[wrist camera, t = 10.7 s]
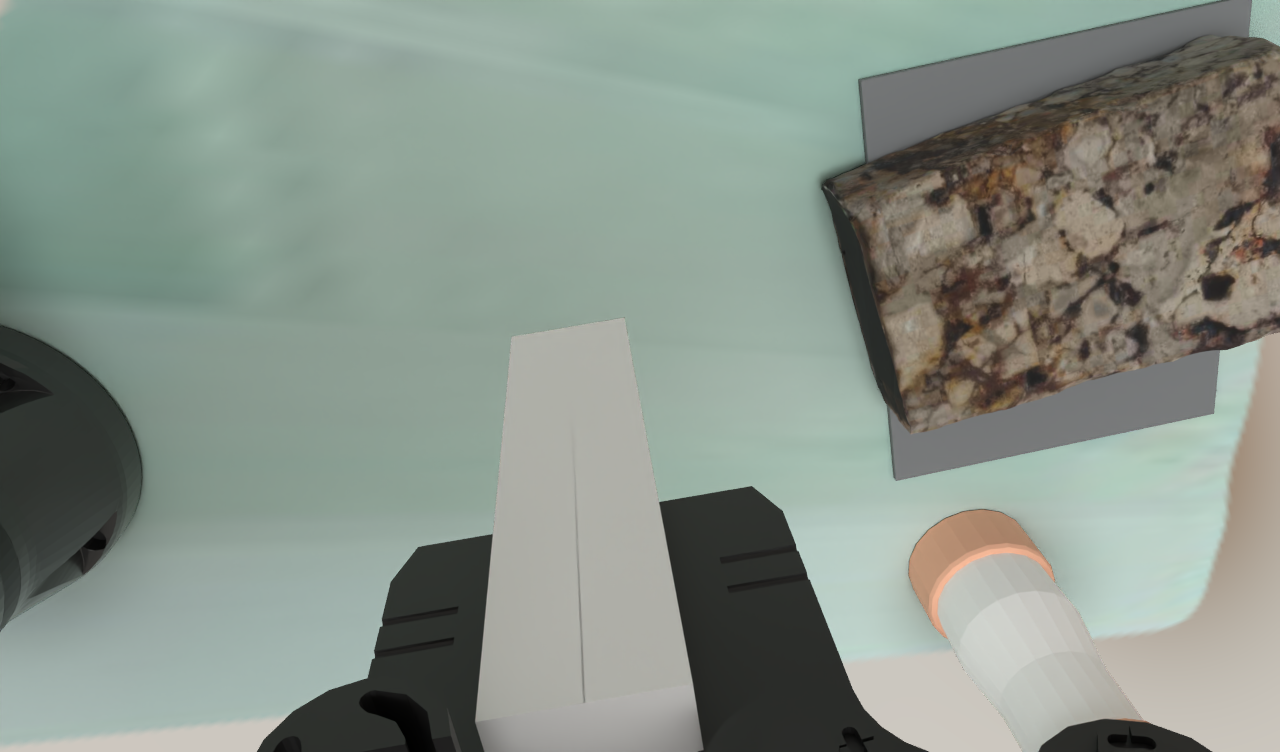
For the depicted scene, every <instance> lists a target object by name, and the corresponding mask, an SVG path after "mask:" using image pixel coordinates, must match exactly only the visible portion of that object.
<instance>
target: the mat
mask: <svg viewBox="0 0 1280 752" xmlns="http://www.w3.org/2000/svg"><path fill="white" fill-rule="evenodd" d="M1251 5H1252V0H1221V1H1217V2H1212V3H1208V4H1203V5H1198V6H1194V7H1189V8H1185V9H1180V10H1175V11H1171V12H1166V13H1162V14H1157V15H1153V16H1148V17H1143V18H1139V19H1134V20H1130V21H1125V22H1120V23H1116V24H1111V25H1107V26H1102V27H1097V28H1093V29H1088V30H1084V31H1079V32H1075V33H1070V34H1065V35H1061V36H1056V37H1052V38H1047V39H1042V40H1038V41H1033V42H1029V43H1024V44H1019V45H1015V46H1010V47H1006V48H1001V49H996V50H992V51H987V52H983V53H978V54H974V55H969V56H964V57H960V58H955V59H951V60H946V61H941V62H937V63H932V64H928V65H923V66H918V67H914V68H909V69H905V70H900V71H896V72H891V73H886V74H882V75H877V76H873V77H868V78H863V79H859V90H860V102H861V113H862V124H863V135H864V147H865V158H866V164H868V163H870V162H873V161H875V160H877V159H880V158H882V157H883V156H885V155H888V154H891V153H894V152H898V151H903V150H905V149H907V148H910V147H912V146H914V145H917V144H919V143H921V142H924V141H926V140H929V139H931V138H934V137H936V136H938V135H939V134H941V133H944V132H947V131H950V130H954V129H957V128H959V127H962V126H965V125H968V124H970V123H974V122H976V121H979V120H981V119H984V118H988V117H991V116H995V115H998V114H1000V113H1002V112H1004V111H1006V110H1009V109H1011V108H1013V107H1016V106H1019V105H1024V104H1028V103H1033V102H1036V101H1039V100H1042V99H1044V98H1046V97H1049V96H1050V95H1052V94H1053V93H1054V92H1056V91H1059V90H1061V89H1064V88H1068V87H1071V86H1076V85H1079V84H1082V83H1085V82H1088V81H1091V80H1094V79H1097V78H1099V77H1102V76H1105V75H1106V74H1108V73H1110V72H1112V71H1113V70H1115V69H1118V68H1122V67H1126V66H1130V65H1134V64H1137V63H1141V62H1145V61H1149V60H1152V59H1156V58H1159V57H1162V56H1165V55H1169V54H1171V53H1172V52H1174V51H1176V50H1178V49H1180V48H1182V47H1183V46H1185V45H1186V44H1187V43H1189V42H1191V41H1193V40H1195V39H1197V38H1199V37H1204V36H1209V35H1214V36H1218V37H1226V36H1239V37H1249V27H1250V16H1251ZM1219 353H1220V350H1213V351H1206V352H1199V353H1195V354H1191V355H1187V356H1185V357H1182V358H1180V359H1178V360H1175V361H1173V362H1165V363H1160V364H1154V365H1152V366H1149V367H1146V368H1142V369H1137V370H1133V371H1127V372H1121V373H1116V374H1112V375H1109V376H1106V377H1103V378H1099V379H1096V380H1089V381H1085V382H1083V383H1080V384H1078V385H1076V386H1073V387H1070V388H1067V389H1065V390H1063V391H1061V392H1059V393H1057V394H1055V395H1052V396H1048V397H1045V398H1042V399H1039V400H1035V401H1032V402H1028V403H1024V404H1020V405H1018V406H1015V407H1013V408H1010V409H1007V410H1000V411H996V412H993V413H988V414H983V415H979V416H976V417H972V418H968V419H965V420H962V421H959V422H956V423H952V424H948V425H945V426H943V427H941V428H939V429H935V430H931V431H927V432H921V433H914V434H910V433H909V432H908V430H907V429H905V428H904V426H903V425H902V424H901V423H900V421H899V420H898V418H897V416H896V415H895V414H894V413H893V411H892V410H891V409H890V407H889V406H888V405H887V407H888V418H889V429H890V441H891V452H892V463H893V475H894V478H895V480H896V481H898V480H902V479H907V478H912V477H916V476H921V475H926V474H931V473H935V472H940V471H945V470H950V469H954V468H959V467H964V466H968V465H973V464H978V463H983V462H987V461H992V460H997V459H1001V458H1006V457H1011V456H1016V455H1020V454H1025V453H1030V452H1035V451H1039V450H1044V449H1049V448H1053V447H1058V446H1063V445H1068V444H1072V443H1077V442H1082V441H1087V440H1091V439H1096V438H1101V437H1105V436H1110V435H1115V434H1120V433H1124V432H1129V431H1134V430H1139V429H1143V428H1148V427H1153V426H1157V425H1162V424H1167V423H1172V422H1176V421H1181V420H1186V419H1190V418H1195V417H1200V416H1205V415H1209V414H1214V407H1215V396H1216V385H1217V375H1218V364H1219Z"/></svg>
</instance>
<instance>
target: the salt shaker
mask: <svg viewBox="0 0 1280 752" xmlns="http://www.w3.org/2000/svg"><path fill="white" fill-rule="evenodd" d="M909 578H910V580H911V583H912V586H913V589H914V591H915V593H916V595H917V596H918V598H919V600H920V602H921V604H922V606H923V608H924V609H925V611H926V613H927V615H928V617H929V619H930V621H931V623H932V624H933V626H934V627H935V628H936V629H937V630H938V631H939V632H940V633H941V634H942V635H943V637H945V638H947V639H948V640H949V642H950V644H951V646H952V648H953V650H954V652H955V653H956V656H957V658H958V660H959V662H960V664H961V666H962V668H963V670H964V671H965V672H966V673H967V675H968V676H969V677H970V678H971V679H972V681H973V682H974V683H975V684H976V686H977V687H978V688H979V689H980V690H981V692H982V693H983V694H984V695H985V697H986V698H987V699H988V700H989V701H990V703H991V704H992V705H993V706H994V707H995V709H996V710H997V711H998V712H999V714H1000V715H1001V716H1002V717H1003V719H1004V720H1005V722H1006V724H1007V725H1008V727H1009V729H1010V731H1011V732H1012V734H1013V736H1014V738H1015V739H1016V741H1017V743H1018V745H1019V746H1020V748H1021V750H1022V752H1038V751H1039V749H1040V747H1041V745H1042V744H1044V743H1045V742H1046V741H1048V740H1049V739H1051V738H1052V737H1054V736H1055V735H1056V734H1058V733H1059V732H1061V731H1062V730H1063V729H1065V728H1066V727H1068V726H1072V725H1077V724H1081V723H1086V722H1091V721H1095V720H1100V719H1115V720H1126V721H1137V722H1147V721H1144V720H1143V719H1142V717H1141V716H1140V714H1139V713H1138V712H1137V710H1136V709H1135V707H1134V706H1133V705H1132V703H1131V702H1130V701H1129V699H1128V698H1127V696H1126V695H1125V694H1124V692H1123V691H1122V689H1121V688H1120V687H1119V685H1118V684H1117V683H1116V681H1115V680H1114V678H1113V677H1112V676H1111V674H1110V673H1109V672H1108V670H1107V668H1106V666H1105V664H1104V662H1103V660H1102V658H1101V656H1100V654H1099V652H1098V650H1097V648H1096V646H1095V644H1094V642H1093V640H1092V638H1091V636H1090V634H1089V632H1088V630H1087V628H1086V626H1085V624H1084V622H1083V619H1082V617H1081V615H1080V613H1079V612H1078V611H1077V609H1076V608H1075V607H1074V606H1073V604H1072V603H1071V602H1070V601H1069V599H1068V598H1067V597H1066V596H1065V595H1064V593H1063V592H1062V591H1061V590H1060V588H1059V587H1058V586H1057V585H1056V583H1055V579H1054V575H1053V571H1052V568H1051V565H1050V564H1049V563H1048V561H1047V560H1046V559H1045V557H1044V556H1043V555H1042V554H1041V552H1040V551H1039V550H1038V548H1037V547H1036V546H1035V544H1034V543H1033V542H1032V541H1031V539H1030V538H1029V537H1028V535H1027V534H1026V533H1025V531H1024V530H1023V529H1022V528H1021V527H1020V525H1019V524H1018V523H1017V522H1016V521H1015V520H1014V519H1012V518H1010V517H1008V516H1007V515H1005V514H1003V513H1001V512H996V511H990V510H984V509H982V510H973V511H965V512H961V513H959V514H956V515H953V516H951V517H948V518H945V519H944V520H942V521H941V522H939V523H938V524H937V525H935V526H934V527H932V528H931V529H929V530H928V531H927V532H926V534H925V535H924V536H923V537H922V538H921V539H920V541H919V542H918V543H917V544H916V546H915V549H914V551H913V553H912V555H911V558H910V561H909ZM1147 723H1149V722H1147ZM1150 724H1151V723H1150Z"/></svg>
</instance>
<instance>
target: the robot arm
mask: <svg viewBox="0 0 1280 752" xmlns="http://www.w3.org/2000/svg"><path fill="white" fill-rule="evenodd" d="M141 481H142V480H141V463H140V457H139V452H138V449H137V445H136V442H135V440H134V437H133V434H132V432H131V430H130V428H129V426H128V424H127V422H126V420H125V418H124V416H123V415H122V413H121V412H120V410H119V409H118V407H117V406H116V404H115V403H114V402H113V400H112V399H111V398H110V396H109V395H108V394H107V393H106V392H105V391H104V389H103V388H102V387H101V386H100V385H99V384H98V383H97V382H96V381H95V380H94V379H93V378H92V377H91V376H89V375H88V374H87V373H86V372H85V371H84V370H83V369H81V368H80V367H79V366H78V365H76V364H75V363H74V362H72V361H71V360H69V359H68V358H67V357H65V356H64V355H62V354H61V353H59V352H57V351H56V350H54V349H52V348H51V347H49V346H47V345H45V344H43V343H41V342H39V341H37V340H35V339H33V338H31V337H29V336H26V335H24V334H21V333H19V332H17V331H14V330H11V329H8V328H5V327H2V326H0V631H1V630H2V629H3V628H4V626H5V625H6V624H7V623H8V622H9V621H10V620H12V619H14V618H15V617H17V616H19V615H20V614H22V613H24V612H25V611H27V610H29V609H30V608H32V607H34V606H35V605H37V604H39V603H40V602H42V601H44V600H45V599H47V598H48V597H50V596H52V595H53V594H55V593H57V592H58V591H60V590H62V589H63V588H65V587H67V586H68V585H70V584H72V583H73V582H75V581H77V580H78V579H80V578H81V577H83V576H84V575H85V574H87V573H88V572H89V571H90V570H91V569H93V568H94V567H95V566H96V565H97V564H98V563H99V562H100V561H101V560H102V559H103V558H104V557H105V556H106V555H107V553H108V552H109V551H110V550H111V548H112V547H113V545H114V544H115V543H116V541H117V540H118V538H119V537H120V536H121V534H122V533H123V531H124V530H125V528H126V527H127V525H128V524H129V522H130V520H131V519H132V517H133V515H134V512H135V510H136V507H137V504H138V501H139V496H140V491H141ZM382 622H383V627H380V629H379V633H378V637H377V642H376V646H375V650H374V652H375V659H372V662H371V666H370V671H369V675H368V679H364V680H360V681H357V682H354V683H351V684H348V685H344V686H341V687H338V688H335V689H332V690H329V691H327V692H325V693H324V694H322V695H320V696H318V697H317V698H315V699H313V700H312V701H310V702H308V703H307V704H305V705H303V706H302V707H300V708H298V709H296V710H295V711H293V712H292V713H291V714H290V715H289V716H288V717H287V718H286V719H285V720H284V721H283V722H282V723H281V724H280V725H279V726H278V727H277V728H276V729H275V730H274V731H272V732H271V733H270V734H269V735H268V736H267V737H266V738H265V739H264V740H263V742H262V744H261V746H260V747H259V749H258V751H257V752H928V751H926V750H923V749H921V748H918V747H916V746H913V745H911V744H908V743H906V742H904V741H902V740H901V739H899V738H898V737H896V736H895V735H893V734H892V733H890V732H889V731H887V730H885V729H884V728H882V727H881V726H880V725H879V724H878V723H877V722H876V721H875V720H874V719H873V718H872V717H871V716H870V715H869V714H868V713H867V712H866V711H865V710H864V708H863V707H862V705H861V703H860V701H859V700H858V698H857V696H856V694H855V693H854V691H853V689H852V686H851V684H850V681H849V679H848V676H847V674H846V671H845V669H844V666H843V663H842V661H841V658H840V656H839V653H838V651H837V648H836V646H835V643H834V641H833V638H832V635H831V633H830V630H829V628H828V625H827V623H826V620H825V618H824V615H823V613H822V610H821V607H820V605H819V602H818V600H817V597H816V595H815V592H814V590H813V587H812V585H811V582H810V580H808V577H807V572H806V569H805V567H804V564H803V562H802V559H801V557H800V554H799V552H798V551H797V549H796V544H795V541H794V539H793V536H792V534H791V531H790V529H789V526H788V524H787V521H786V519H785V516H784V513H783V511H782V510H781V509H779V508H778V507H777V506H776V505H774V504H773V503H772V502H771V501H770V500H768V499H767V498H766V497H765V496H763V495H762V494H761V493H760V492H758V491H757V490H756V489H755V488H753V487H752V486H750V487H744V488H739V489H733V490H727V491H721V492H715V493H710V494H704V495H698V496H692V497H686V498H681V499H675V500H669V501H663V502H659V500H658V494H657V489H656V484H655V478H654V473H653V468H652V462H651V457H650V451H649V446H648V441H647V435H646V430H645V425H644V419H643V414H642V409H641V403H640V398H639V392H638V387H637V382H636V376H635V371H634V366H633V360H632V355H631V350H630V344H629V339H628V334H627V328H626V323H625V317H624V318H618V319H612V320H606V321H601V322H595V323H589V324H583V325H577V326H571V327H565V328H559V329H553V330H548V331H542V332H536V333H530V334H524V335H518V336H512V338H511V348H510V359H509V369H508V380H507V390H506V401H505V412H504V422H503V433H502V443H501V454H500V464H499V475H498V486H497V496H496V507H495V517H494V528H493V534H491V535H485V536H480V537H474V538H468V539H462V540H456V541H451V542H445V543H439V544H433V545H427V546H422V547H418V548H417V549H416V551H415V552H414V553H413V555H412V556H411V557H410V558H409V560H408V561H407V562H406V563H405V565H404V566H403V567H402V569H401V570H400V571H399V572H398V574H397V575H396V576H395V578H394V579H393V580H392V581H391V584H390V588H389V592H388V596H387V600H386V604H385V609H384V613H383V617H382ZM1038 752H1212V751H1210V750H1209V749H1207V748H1206V747H1204V746H1203V745H1201V744H1199V743H1198V742H1196V741H1195V740H1193V739H1192V738H1189V737H1187V736H1184V735H1181V734H1178V733H1175V732H1173V731H1170V730H1167V729H1164V728H1162V727H1158V726H1156V725H1153V724H1150V723H1147V722H1137V721H1126V720H1115V719H1100V720H1095V721H1091V722H1086V723H1081V724H1077V725H1072V726H1068V727H1066V728H1065V729H1063V730H1062V731H1061V732H1059V733H1058V734H1056V735H1055V736H1054V737H1052V738H1051V739H1049V740H1048V741H1046V742H1045V743H1044V744H1042V745H1041V747H1040V749H1039V751H1038Z"/></svg>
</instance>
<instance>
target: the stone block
mask: <svg viewBox="0 0 1280 752" xmlns="http://www.w3.org/2000/svg"><path fill="white" fill-rule="evenodd" d="M822 190H823V192H824V194H825V196H826V199H827V201H828V203H829V206H830V209H831V211H832V216H833V221H834V226H835V229H836V233H837V236H838V242H839V246H840V249H841V252H842V257H843V261H844V265H845V269H846V273H847V277H848V281H849V285H850V289H851V293H852V297H853V301H854V304H855V308H856V311H857V315H858V319H859V322H860V326H861V329H862V333H863V336H864V340H865V344H866V347H867V351H868V355H869V359H870V363H871V367H872V371H873V374H874V376H875V378H876V381H877V385H878V388H879V389H880V391H881V393H882V396H883V399H884V401H885V403H886V404H887V405H888V406H889V407H890V409H891V410H892V411H893V413H894V414H895V415H896V416H897V418H898V420H899V421H900V423H901V424H902V425H903V426H904V428H905V429H907V430H908V432H909V433H910V434H914V433H921V432H927V431H931V430H935V429H939V428H941V427H943V426H945V425H948V424H952V423H956V422H959V421H962V420H965V419H968V418H972V417H976V416H979V415H983V414H988V413H993V412H996V411H1000V410H1007V409H1010V408H1013V407H1015V406H1018V405H1020V404H1024V403H1028V402H1032V401H1035V400H1039V399H1042V398H1045V397H1048V396H1052V395H1055V394H1057V393H1059V392H1061V391H1063V390H1065V389H1067V388H1070V387H1073V386H1076V385H1078V384H1080V383H1083V382H1085V381H1089V380H1096V379H1099V378H1103V377H1106V376H1109V375H1112V374H1116V373H1121V372H1127V371H1133V370H1137V369H1142V368H1146V367H1149V366H1152V365H1154V364H1160V363H1165V362H1173V361H1175V360H1178V359H1180V358H1182V357H1185V356H1187V355H1191V354H1195V353H1199V352H1206V351H1213V350H1228V349H1231V348H1234V347H1237V346H1240V345H1243V344H1245V343H1248V342H1252V341H1255V340H1258V339H1260V338H1262V337H1264V336H1266V335H1269V334H1274V333H1278V332H1280V47H1279V46H1278V45H1276V44H1274V43H1272V42H1270V41H1268V40H1266V39H1264V38H1256V37H1239V36H1226V37H1218V36H1214V35H1209V36H1204V37H1199V38H1197V39H1195V40H1193V41H1191V42H1189V43H1187V44H1186V45H1185V46H1183V47H1182V48H1180V49H1178V50H1176V51H1174V52H1172V53H1171V54H1169V55H1165V56H1162V57H1159V58H1156V59H1152V60H1149V61H1145V62H1141V63H1137V64H1134V65H1130V66H1126V67H1122V68H1118V69H1115V70H1113V71H1112V72H1110V73H1108V74H1106V75H1105V76H1102V77H1099V78H1097V79H1094V80H1091V81H1088V82H1085V83H1082V84H1079V85H1076V86H1071V87H1068V88H1064V89H1061V90H1059V91H1056V92H1054V93H1053V94H1052V95H1050V96H1049V97H1046V98H1044V99H1042V100H1039V101H1036V102H1033V103H1028V104H1024V105H1019V106H1016V107H1013V108H1011V109H1009V110H1006V111H1004V112H1002V113H1000V114H998V115H995V116H991V117H988V118H984V119H981V120H979V121H976V122H974V123H970V124H968V125H965V126H962V127H959V128H957V129H954V130H950V131H947V132H944V133H941V134H939V135H938V136H936V137H934V138H931V139H929V140H926V141H924V142H921V143H919V144H917V145H914V146H912V147H910V148H907V149H905V150H903V151H898V152H894V153H891V154H888V155H885V156H883V157H882V158H880V159H877V160H875V161H873V162H870V163H868V164H865V165H862V166H860V167H858V168H856V169H854V170H851V171H849V172H846V173H844V174H841V175H839V176H837V177H834V178H831V179H828V180H826V181H825V182H824V184H823V185H822Z"/></svg>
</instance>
